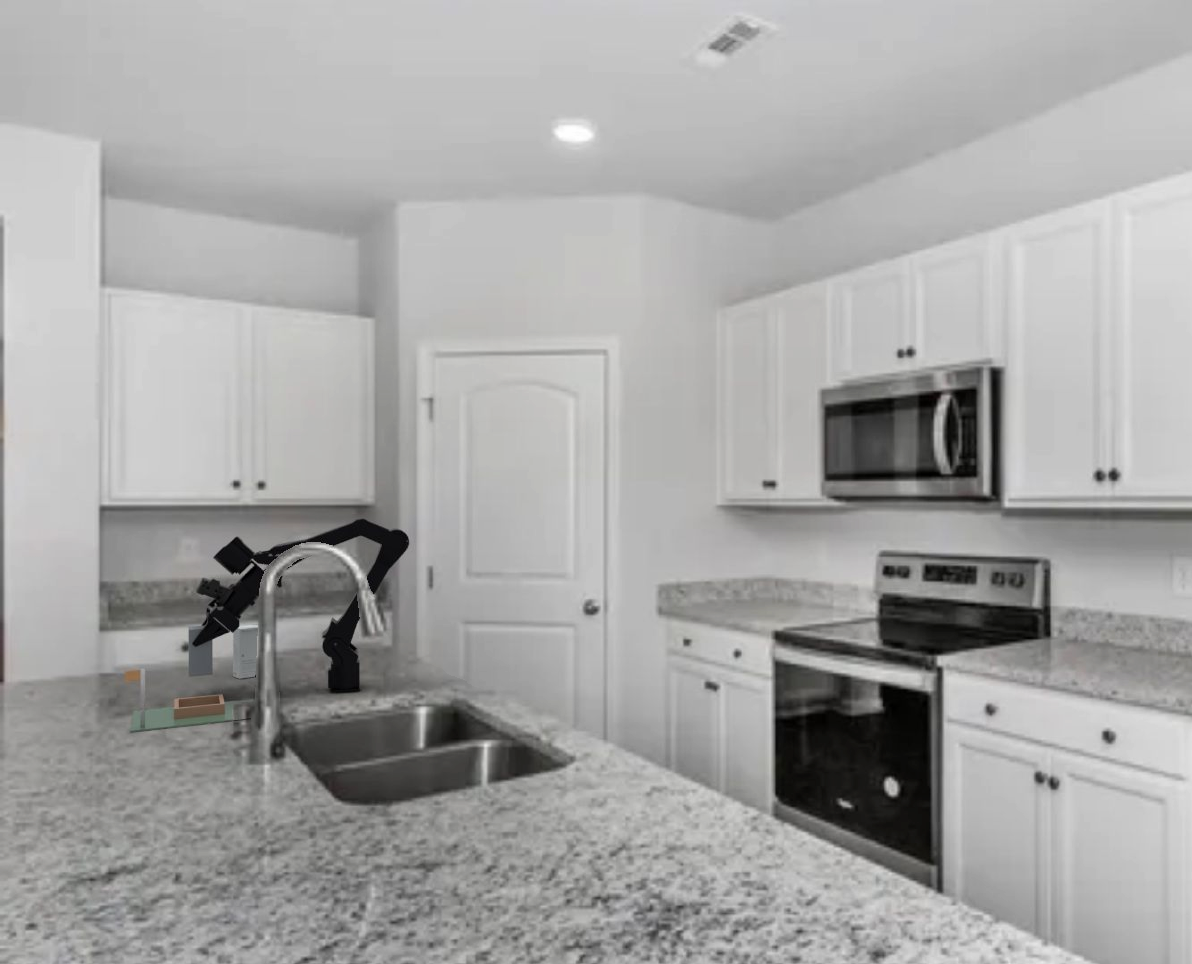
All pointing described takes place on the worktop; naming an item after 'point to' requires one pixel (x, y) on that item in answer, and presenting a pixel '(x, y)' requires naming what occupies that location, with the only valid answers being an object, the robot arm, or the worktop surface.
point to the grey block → (199, 655)
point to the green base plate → (179, 709)
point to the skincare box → (245, 651)
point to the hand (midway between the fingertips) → (193, 643)
